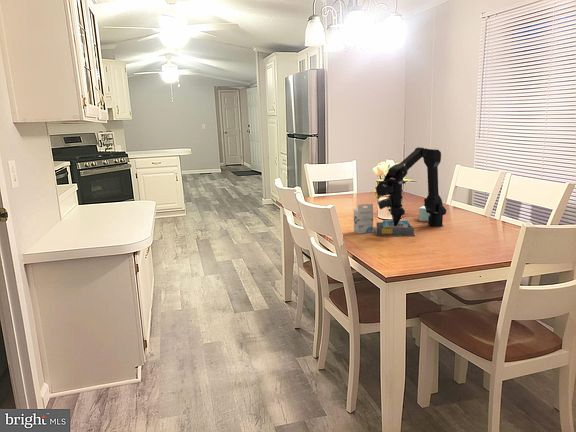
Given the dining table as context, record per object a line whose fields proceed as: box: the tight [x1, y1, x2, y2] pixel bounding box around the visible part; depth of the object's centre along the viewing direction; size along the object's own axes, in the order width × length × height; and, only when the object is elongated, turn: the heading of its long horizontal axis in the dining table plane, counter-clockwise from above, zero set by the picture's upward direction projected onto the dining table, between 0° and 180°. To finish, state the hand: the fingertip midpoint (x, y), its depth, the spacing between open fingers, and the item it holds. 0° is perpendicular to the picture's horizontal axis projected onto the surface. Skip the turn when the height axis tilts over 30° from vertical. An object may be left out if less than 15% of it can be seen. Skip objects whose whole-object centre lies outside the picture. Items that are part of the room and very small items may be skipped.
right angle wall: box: [418, 205, 429, 222], centre depth 242 cm, size 12×12×8 cm
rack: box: [373, 221, 416, 237], centre depth 219 cm, size 18×15×4 cm
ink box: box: [353, 203, 374, 235], centre depth 219 cm, size 9×5×15 cm, turn 105°
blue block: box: [382, 219, 409, 228], centre depth 214 cm, size 12×2×6 cm, turn 84°
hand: (395, 225), depth 214 cm, fingers open, 4 cm apart
